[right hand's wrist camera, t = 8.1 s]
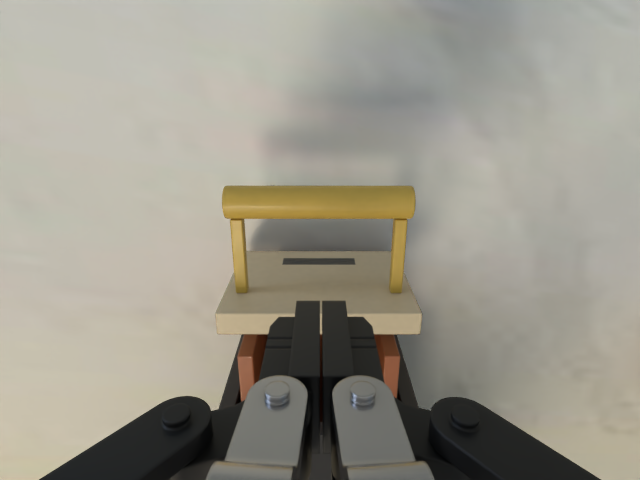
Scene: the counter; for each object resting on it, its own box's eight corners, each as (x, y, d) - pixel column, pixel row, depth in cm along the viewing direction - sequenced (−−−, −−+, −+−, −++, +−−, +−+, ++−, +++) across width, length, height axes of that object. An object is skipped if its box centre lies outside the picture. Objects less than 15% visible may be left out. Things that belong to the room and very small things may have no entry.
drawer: (237, 164, 25) (202, 198, 18) (400, 164, 25) (434, 198, 18) (255, 428, 32) (236, 530, 25) (382, 428, 32) (400, 530, 25)
